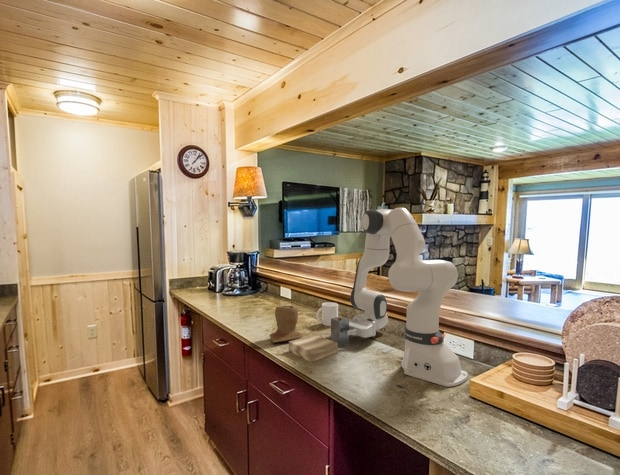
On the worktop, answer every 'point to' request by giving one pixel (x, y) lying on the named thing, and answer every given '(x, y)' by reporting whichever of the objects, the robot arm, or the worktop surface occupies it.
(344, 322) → the block
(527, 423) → the worktop surface
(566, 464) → the worktop surface
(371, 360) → the worktop surface
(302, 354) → the maple stand
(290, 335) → the brown piece
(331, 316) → the mug
